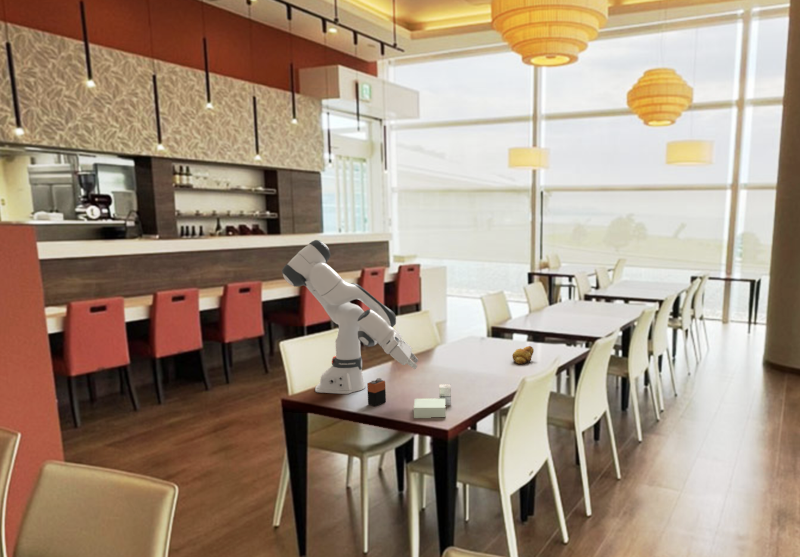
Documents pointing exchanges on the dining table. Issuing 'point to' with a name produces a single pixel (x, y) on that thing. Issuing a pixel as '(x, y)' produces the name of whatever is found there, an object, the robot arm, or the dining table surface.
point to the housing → (445, 393)
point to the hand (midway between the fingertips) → (416, 364)
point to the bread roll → (523, 355)
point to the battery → (376, 392)
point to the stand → (429, 408)
